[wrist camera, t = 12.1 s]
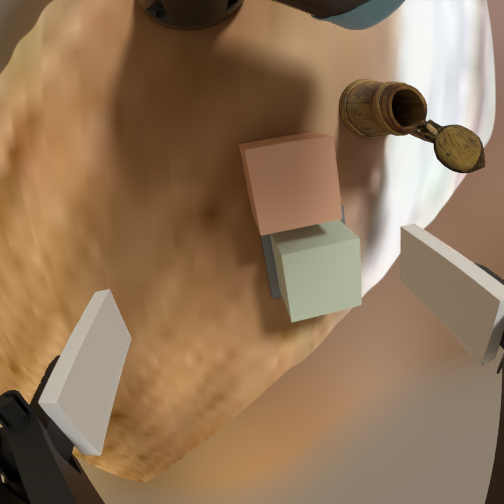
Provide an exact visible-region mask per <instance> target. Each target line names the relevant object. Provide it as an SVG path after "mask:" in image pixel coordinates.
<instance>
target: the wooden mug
mask: <svg viewBox="0 0 504 504" xmlns="http://www.w3.org/2000/svg"><path fill="white" fill-rule="evenodd" d="M339 109H340V114H341V118H342V120H343V122H344V124H345V125H346V126H347V127H348V129H350V130H351V131H352V132H354V133H355V134H357V135H359V136H361V137H365V138H378V137H382V136H385V135H389V134H392V135H395V136H404V135H408V134H410V135H413V136H415V137H417V138H420V139H422V140H424V141H427V142H431V143H433V144H434V151H435V154H436V157H437V159H438V160H439V161H440V162H441V163H442V164H443V165H444V166H445V167H447V168H448V169H450V170H452V171H454V172H458V173H470V172H473V171H476V170H479V169H481V168H483V167H485V156H484V149H483V145H482V142H481V140H480V138H479V137H478V136H477V135H476V134H475V133H474V132H472V131H471V130H469V129H467V128H465V127H463V126H460V125H448V126H443V127H442V126H440V125H438V124H436V123H435V122H433V121H432V120H429V121H428V122H427V121H425V120H426V115H427V104H426V101H425V99H424V97H423V96H422V94H421V93H420V92H419V91H418V90H417V89H416V88H414V87H413V86H411V85H407V84H406V83H402V82H386V83H382V82H378V81H374V80H368V79H361V80H357V81H355V82H353V83H351V84H350V85H349V86H347V87H346V89H345V90H344V91H343V93H342V96H341V99H340V106H339Z"/></svg>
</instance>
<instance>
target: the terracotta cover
mask: <svg viewBox="0 0 504 504" xmlns="http://www.w3.org/2000/svg"><path fill="white" fill-rule="evenodd" d="M239 148H240V153H241V159H242V164H243V169H244V174H245V179H246V184H247V189H248V195H249V200H250V205H251V210H252V215H253V217H254V220H255V222H256V225H257V228H258V230H259V233H260V235H261V236H263V235H267V234H272V233H277V232H282V231H286V230H291V229H296V228H301V227H306V226H311V225H315V224H320V223H325V222H330V221H335V220H340V219H342V209H341V198H340V189H339V179H338V171H337V162H336V154H335V147H334V139H333V136H332V135H326V134H320V133H314V132H307V133H301V134H294V135H287V136H281V137H275V138H269V139H264V140H258V141H253V142H247V143H242V144H239Z"/></svg>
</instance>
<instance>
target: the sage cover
mask: <svg viewBox="0 0 504 504" xmlns="http://www.w3.org/2000/svg"><path fill="white" fill-rule="evenodd" d="M270 236H271V242H272V248H273V254H274V259H275V265H276V271H277V277H278V283H279V289H280V292H281V295H282V298H283V300H284V303H285V306H286V309H287V311H288V314H289V317H290V319H291V322H296V321H300V320H305V319H309V318H313V317H317V316H321V315H325V314H329V313H333V312H336V311H340V310H344V309H348V308H352V307H355V306H359V305H361V259H360V238H359V237H358V236H357V235H356V234H355V233H353V232H352V231H351V230H350V229H349V228H348V227H347V226H346V225H344V224H343V223H342V222H341V221H340V220H335V221H330V222H325V223H320V224H315V225H311V226H306V227H301V228H296V229H291V230H286V231H282V232H277V233H272V234H270Z"/></svg>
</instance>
